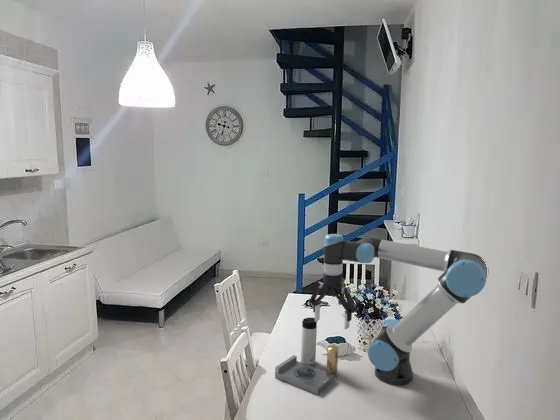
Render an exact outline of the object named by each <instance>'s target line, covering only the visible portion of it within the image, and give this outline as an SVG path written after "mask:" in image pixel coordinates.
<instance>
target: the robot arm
mask: <svg viewBox="0 0 560 420" xmlns="http://www.w3.org/2000/svg"><path fill="white" fill-rule="evenodd" d="M323 242H324V243H323V280H322V281H323V282H322V281H317V282H316V284H315V288H314V291H313V292H312V294H311V296H310V299H309V301H308V302H309V304H311V305H312V307H313V308H312V309H313V310H312V311H313V313H314V318H315V321H318V322H319V320H321V319H320V317H321V316H320V311H321V304H319V303H320V302H321V301H322V300H323V299H324V298H325V296H328V297H334V298H336V299H337V300H339V303H340V304H341V306H342V307H343V309H344V310H345V313H344V330H347V329H349V328H350V323H351V320H352V315H353V313H355V312H357V311H358V310H357V307H356V304H355V302H354V300H353V297H352V295H351V291H350V287H349V286H347V287H346V286H345V287H343V270H344V269H343V265H344V264H343V263H344V262H343V261H348V262H355V263H360V264H370V263H372V262H373V260H374V258H377V259H378V258H379V259H383V260H386V261H387V260H388V261H392V262H398V263H400V264H401V263H402V264H406V265H412V266H416V267H421V268H426V269H430V270H434V271H435V270H436V271H438V272H439V271H440V272H442V274H440V275H439V276H438V278H437V285H436V286H435V287H434V288H433V289H432V290H431V291H430V292H429V293H427V295H425V296H424V297H423V298H422V299H421V300H420V301H419V302H418V303H417V304H416V305H415V306H414V307H413V308H412V309H411V310H410V311H409V312H407V313H406V315H405V316H404V317H402V318H401V320H400V319H391V318H389V319H388V318H387V319H384V320H383V321H382V323H381V330H380V332H379V334H378V335H377V336H376V337H375V338H374V339H373V340H372V341H371V342H370V343H369V345H368V348H367V356H368V359H369V361H370V363H371V364H372V365H373V366H374V375H375V376H376V378H377V379H378V380H380V381H381V382H384V383H386V384H389V385H394V386H395V385H396V386H403V385H409V384H410V383H412V381H413V378H414V372H413V368H412V364H411V362H410V360H411V359H410V356H411V352H412V350H413V344H414V343H415V342H416V341H417V340H419V339H420V337H422V336H423V335H424V334H425V333H426V332H427V331H428V330H429V329H430V328H431V327H433V326H434V325H435V324H436V323H437V322H438V321H439V320H440V319H441V318H443V316H445V315H446V314H447V313H449V311H450V310H452V308H454V307H455V306H456V305H457V304H465V303H466V302H467V301H469V299H471V298H472V297H474V296H476V295H478V294H479V293H481V292H482V290H484V288H485V285H486V283H487V278H488V276H487V267H486V264H485V262H486V261H485V262H484V261H483V260H485V259H484V257H482V256H481V255H479V254H476V253H473V252H467V251H460V250H455V249H449V250H448V251H444V250H440V249H435V248H429V247H424V246H419V245H414V244H413V245H412V244H407V243H402V242H397V241H391V240H385V239H380V238H378V237H377V236H375V235H368V236H364V237H363V238H362V239H359V240H357V241H348V240H344V235H342V234H338V233H330V234H326V235H325V236H324V240H323ZM481 258H482V259H483V260H482V259H481ZM322 289H323V291H322V292H321V290H322ZM319 292H321V294H320V295H319ZM318 295H319V296H318ZM344 296H345V297H344Z"/></svg>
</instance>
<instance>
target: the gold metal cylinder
mask: <svg viewBox="0 0 560 420" xmlns="http://www.w3.org/2000/svg"><path fill="white" fill-rule="evenodd" d="M326 353H327V355H326V371H325V372H328V373H331V374H333V375H335V379H336V378H337V377H338V363H339V346H337V345H333V344H332V345H331V344H330V345H328V346H327V352H326Z"/></svg>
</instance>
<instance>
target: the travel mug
mask: <svg viewBox="0 0 560 420" xmlns="http://www.w3.org/2000/svg"><path fill="white" fill-rule="evenodd" d="M301 321H302V325H301V347H300V351H301V352H300V355H301V356H300V362H301V363H304V364H306V365H309V366H312V367H314V366H315V365H316V359H317V358H316V355H317V354H316V353H317V333H318V331H317V328H318V326H317V324H318V322H319V320H318V321H315V317H305V318H304V319H302V320H301Z"/></svg>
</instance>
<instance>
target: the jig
mask: <svg viewBox="0 0 560 420" xmlns="http://www.w3.org/2000/svg"><path fill="white" fill-rule="evenodd" d="M297 358H298V357H297V355H293V354H292V356H290V357H289V358H286V360H284V361H282V362H281V363H280V364H278V365H277V366H275V368H274V370H275V372H274V378H275V379H277V380H280V381H282V382H285V383H287V384H289V385H292V386H294V387H297V388H299V389H301V390H304V391H307V392H309V393H311V394H314V395H316V396H318V395H320V394H321V393H323V391H325V390H326V389H327V388H328V387H329V386H330V385H332V384H333V383H334V382H335V379H336V378H335V375H333V374H331V373H328V372H326V371H325V370H322V369H319V368H317V367H316V366H315V367H314V366H309V365H306V364H304V363H301V361H298V360H297ZM303 376H304V377H303ZM305 376H306V377H305Z"/></svg>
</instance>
